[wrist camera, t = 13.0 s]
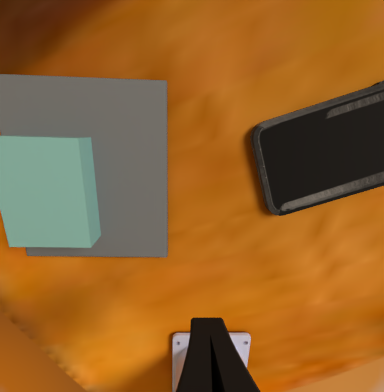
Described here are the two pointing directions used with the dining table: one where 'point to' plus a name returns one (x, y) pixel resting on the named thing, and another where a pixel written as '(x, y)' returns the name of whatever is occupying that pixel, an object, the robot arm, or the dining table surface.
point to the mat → (103, 151)
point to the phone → (321, 151)
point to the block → (48, 191)
